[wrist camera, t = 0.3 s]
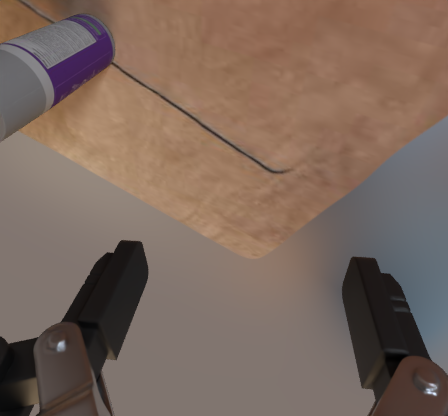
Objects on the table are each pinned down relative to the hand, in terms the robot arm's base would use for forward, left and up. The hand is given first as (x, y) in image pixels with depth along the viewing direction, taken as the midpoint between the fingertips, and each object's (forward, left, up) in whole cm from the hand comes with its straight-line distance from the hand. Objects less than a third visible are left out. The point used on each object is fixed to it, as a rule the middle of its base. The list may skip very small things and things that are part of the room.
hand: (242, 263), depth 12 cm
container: (+7, -15, -22) cm, 28 cm away
